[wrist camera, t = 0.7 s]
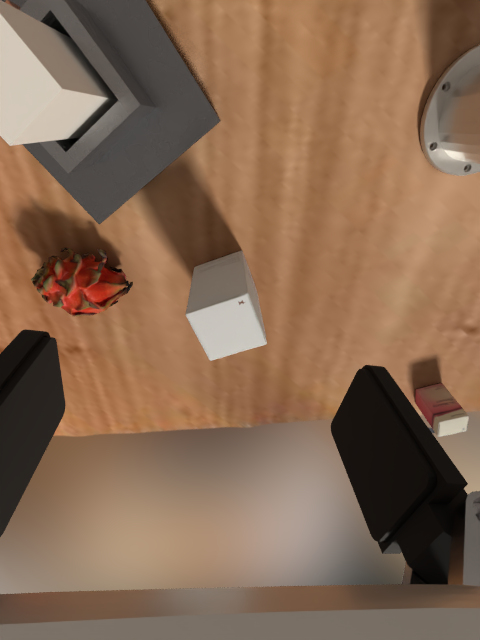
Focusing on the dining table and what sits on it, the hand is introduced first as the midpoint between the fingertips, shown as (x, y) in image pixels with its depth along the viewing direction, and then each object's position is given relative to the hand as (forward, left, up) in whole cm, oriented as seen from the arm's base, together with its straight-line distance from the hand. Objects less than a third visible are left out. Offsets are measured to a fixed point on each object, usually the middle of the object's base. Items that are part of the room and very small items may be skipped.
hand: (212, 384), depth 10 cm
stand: (+5, -15, -34) cm, 37 cm away
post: (+5, -15, -31) cm, 34 cm away
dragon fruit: (+21, -2, -34) cm, 40 cm away
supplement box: (+7, +10, -34) cm, 36 cm away
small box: (-10, +52, -34) cm, 63 cm away
